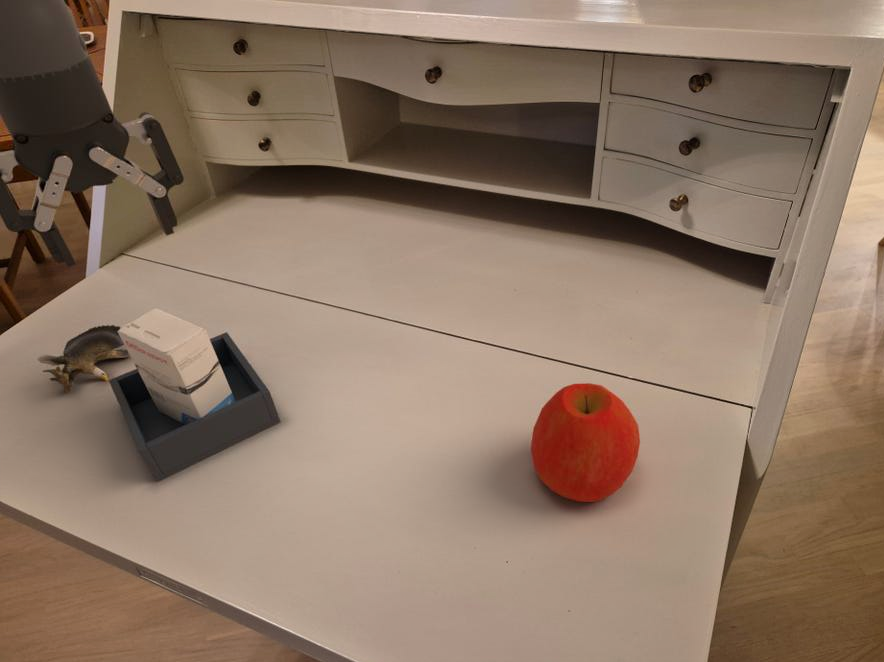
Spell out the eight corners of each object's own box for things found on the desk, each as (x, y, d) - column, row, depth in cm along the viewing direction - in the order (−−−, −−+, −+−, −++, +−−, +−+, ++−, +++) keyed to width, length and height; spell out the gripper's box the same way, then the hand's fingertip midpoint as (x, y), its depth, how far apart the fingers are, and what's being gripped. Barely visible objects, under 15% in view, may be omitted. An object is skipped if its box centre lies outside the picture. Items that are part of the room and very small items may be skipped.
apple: (639, 444, 66) (652, 369, 59) (626, 525, 59) (638, 449, 52) (543, 426, 69) (544, 352, 62) (519, 501, 61) (517, 426, 55)
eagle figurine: (93, 399, 74) (146, 344, 79) (37, 359, 71) (96, 303, 76) (77, 406, 79) (128, 353, 84) (25, 368, 76) (81, 316, 81)
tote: (157, 482, 66) (139, 451, 62) (126, 410, 74) (108, 379, 71) (281, 422, 71) (269, 391, 68) (238, 361, 80) (226, 331, 77)
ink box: (241, 409, 72) (207, 327, 64) (207, 438, 69) (167, 355, 61) (191, 385, 76) (153, 304, 68) (156, 412, 72) (113, 330, 65)
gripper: (120, 32, 53) (186, 208, 64) (-81, 68, 47) (29, 257, 58) (142, 49, 49) (210, 237, 59) (-77, 92, 42) (42, 293, 53)
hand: (120, 246), depth 58 cm, fingers open, 8 cm apart
